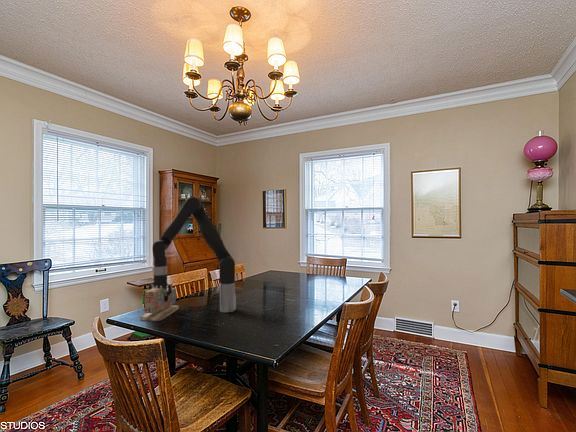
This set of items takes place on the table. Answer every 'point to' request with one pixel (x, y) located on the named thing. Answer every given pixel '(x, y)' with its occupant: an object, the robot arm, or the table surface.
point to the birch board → (159, 314)
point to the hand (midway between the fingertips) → (160, 301)
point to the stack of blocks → (158, 299)
